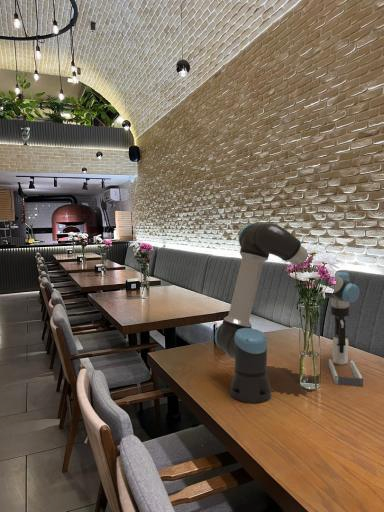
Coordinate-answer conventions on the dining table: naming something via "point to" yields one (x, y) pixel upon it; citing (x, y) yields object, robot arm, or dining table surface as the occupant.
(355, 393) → the dining table surface
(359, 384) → the grey flat u-shaped frame
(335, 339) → the can
